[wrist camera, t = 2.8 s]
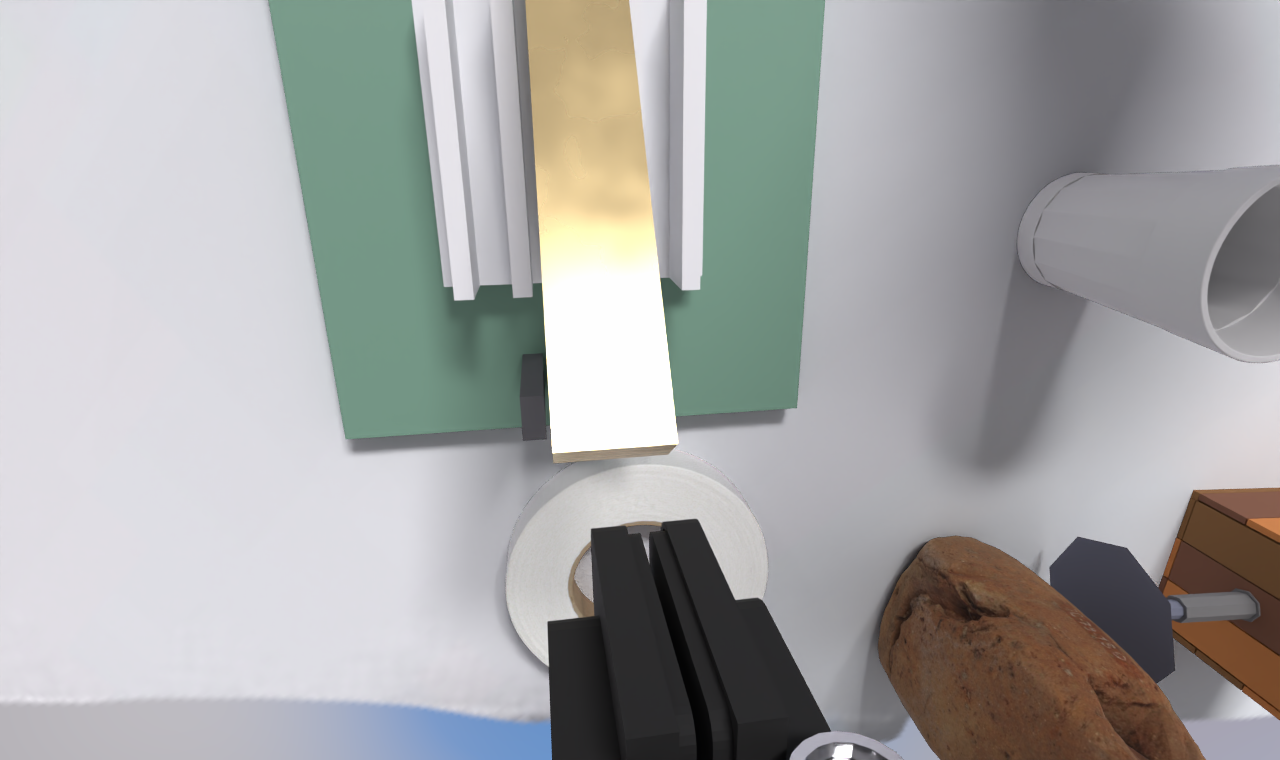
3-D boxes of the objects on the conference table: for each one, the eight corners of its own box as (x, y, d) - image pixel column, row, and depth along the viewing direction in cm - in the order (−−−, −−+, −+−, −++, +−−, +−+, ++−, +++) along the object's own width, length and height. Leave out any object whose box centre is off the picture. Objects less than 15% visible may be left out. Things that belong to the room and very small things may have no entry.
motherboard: (241, -230, 26) (129, -371, 19) (825, -198, 29) (918, -309, 22) (353, 427, 36) (306, 499, 28) (787, 398, 39) (844, 456, 32)
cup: (1016, 321, 39) (1208, 392, 28) (991, 191, 36) (1193, 212, 25) (1141, 267, 39) (1382, 317, 28) (1126, 133, 36) (1388, 128, 25)
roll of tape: (500, 659, 42) (497, 694, 40) (515, 436, 37) (513, 458, 35) (735, 658, 45) (747, 690, 42) (777, 450, 40) (794, 471, 38)
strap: (514, -190, 23) (509, -258, 21) (600, -185, 24) (603, -252, 22) (553, 463, 17) (552, 450, 15) (668, 454, 18) (680, 440, 16)
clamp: (1062, 492, 44) (1290, 644, 31) (1315, 486, 47) (1624, 621, 34) (1023, 626, 48) (1214, 815, 34) (1262, 612, 51) (1523, 780, 37)
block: (954, 662, 48) (1223, 998, 29) (858, 658, 46) (1076, 1008, 27) (1006, 530, 44) (1349, 811, 26) (905, 520, 43) (1189, 811, 24)
